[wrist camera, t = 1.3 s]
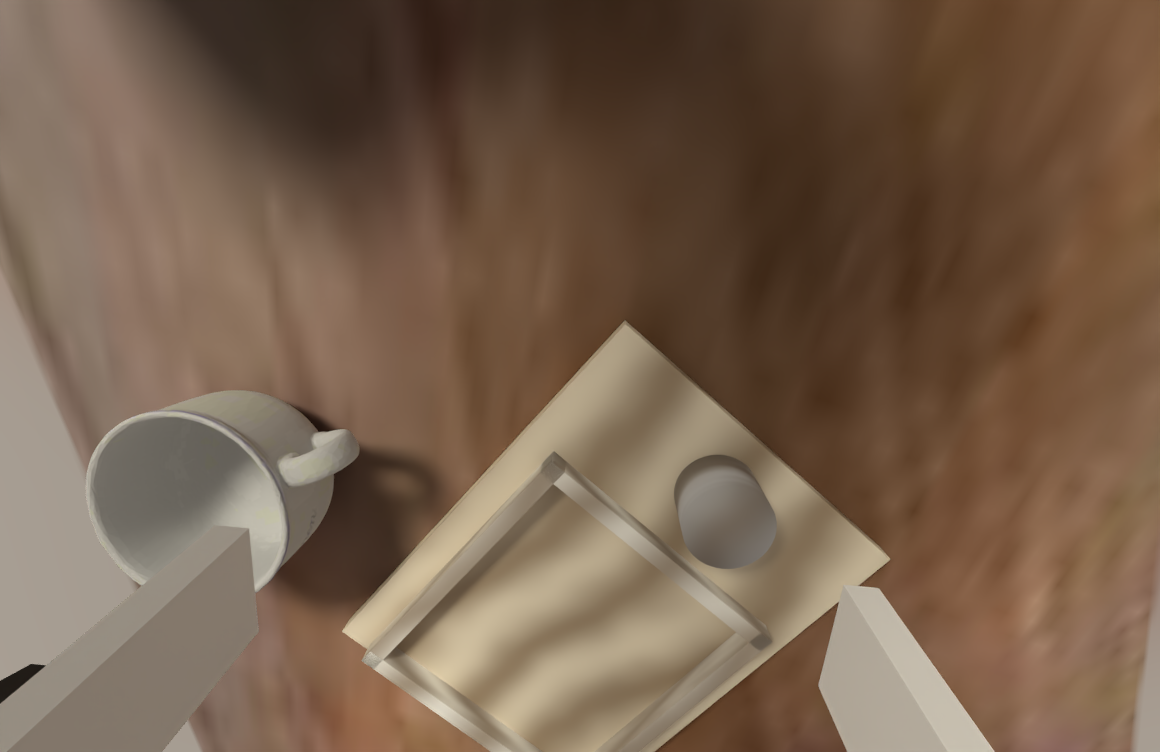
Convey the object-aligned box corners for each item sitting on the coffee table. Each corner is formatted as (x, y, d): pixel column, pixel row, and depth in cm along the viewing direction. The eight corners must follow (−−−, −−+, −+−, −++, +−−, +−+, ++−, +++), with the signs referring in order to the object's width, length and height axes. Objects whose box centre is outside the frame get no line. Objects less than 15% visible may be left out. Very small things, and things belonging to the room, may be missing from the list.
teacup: (219, 538, 39) (124, 619, 31) (160, 384, 36) (39, 433, 28) (420, 510, 38) (372, 588, 30) (375, 348, 35) (310, 389, 27)
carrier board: (349, 619, 40) (313, 677, 35) (625, 320, 34) (628, 339, 29) (588, 789, 44) (586, 864, 39) (881, 548, 37) (924, 601, 32)
